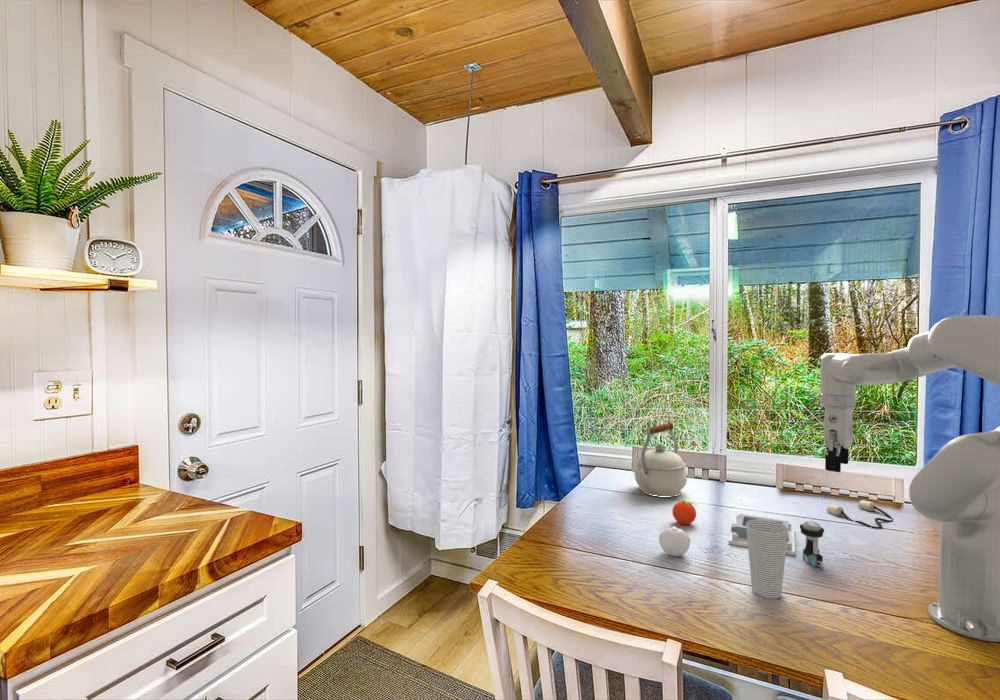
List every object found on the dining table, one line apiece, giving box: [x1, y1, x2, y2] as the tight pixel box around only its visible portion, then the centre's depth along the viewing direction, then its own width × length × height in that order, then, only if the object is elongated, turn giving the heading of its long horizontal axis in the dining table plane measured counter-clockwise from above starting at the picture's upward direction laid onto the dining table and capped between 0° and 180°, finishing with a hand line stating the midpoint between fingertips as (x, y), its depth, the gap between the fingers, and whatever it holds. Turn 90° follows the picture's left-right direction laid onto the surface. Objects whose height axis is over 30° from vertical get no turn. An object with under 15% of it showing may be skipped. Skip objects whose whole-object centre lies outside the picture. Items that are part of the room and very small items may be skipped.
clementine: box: [672, 500, 699, 525], centre depth 156 cm, size 8×7×7 cm
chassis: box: [728, 513, 796, 556], centre depth 144 cm, size 18×16×4 cm
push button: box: [799, 521, 825, 569], centre depth 128 cm, size 7×5×10 cm
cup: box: [746, 519, 788, 600], centre depth 115 cm, size 8×8×16 cm
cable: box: [825, 499, 894, 529], centre depth 158 cm, size 16×16×4 cm
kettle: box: [634, 422, 688, 496], centre depth 185 cm, size 25×18×25 cm
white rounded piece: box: [658, 525, 691, 558], centre depth 134 cm, size 8×8×8 cm
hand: (837, 466), depth 130 cm, fingers open, 9 cm apart
